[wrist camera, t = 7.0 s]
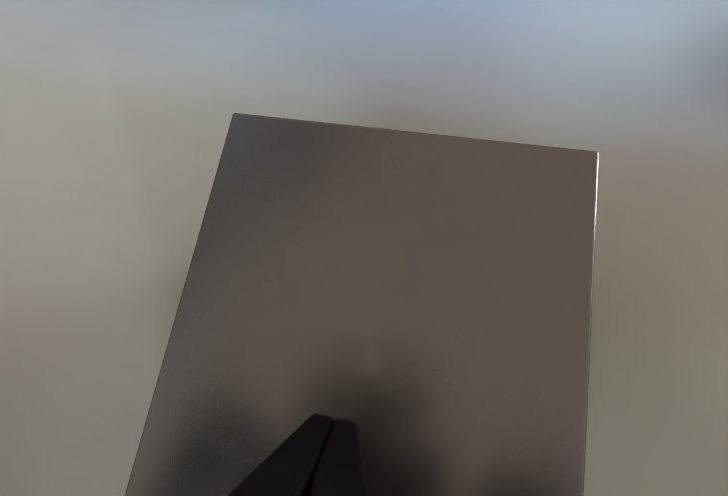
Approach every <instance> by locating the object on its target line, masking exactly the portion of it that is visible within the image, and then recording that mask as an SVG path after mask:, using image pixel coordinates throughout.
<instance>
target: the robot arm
mask: <svg viewBox="0 0 728 496" xmlns="http://www.w3.org/2000/svg"><path fill="white" fill-rule="evenodd" d="M227 496H368V491H367V485H366V478H365V471H364V465H363V458H362V452H361V445H360V438H359V432H358V425H357V423H356V422H355V421H352V420H348V419H343V418H336V419H334V418H333V417H332V416H328V415H323V414H318V413H315V414H312V415H311V416H310V417H309V418H308V419H307V420H306V421H305V422H304V423H302V424H301V425H300V426H299V427H298V428H297V429H296V430H295V431H294V432H293V433H292V434H291V435H290V436H289V437H288V438H287V439H286V440H285V441H284V442H283V443H281V444H280V445H279V446H278V447H277V448H276V449H275V450H274V451H273V452H272V453H271V454H270V455H269V456H268V457H267V458H266V459H265V460H264V461H263V462H261V463H260V464H259V465H258V466H257V467H256V468H255V469H254V470H253V471H252V472H251V473H250V474H249V475H248V476H247V477H246V478H245V479H244V480H243V481H242V482H240V483H239V484H238V485H237V486H236V487H235V488H234V489H233V490H232V491H231V492H230V493H229V494H228V495H227Z"/></svg>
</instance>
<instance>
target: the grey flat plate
mask: <svg viewBox="0 0 728 496" xmlns="http://www.w3.org/2000/svg"><path fill="white" fill-rule="evenodd" d="M598 164H599V153H598V152H595V151H586V150H576V149H567V148H557V147H548V146H539V145H529V144H520V143H511V142H501V141H492V140H482V139H473V138H464V137H454V136H445V135H436V134H426V133H417V132H407V131H398V130H389V129H379V128H370V127H360V126H351V125H342V124H332V123H323V122H314V121H304V120H295V119H285V118H276V117H267V116H257V115H248V114H238V113H234V114H233V116H232V120H231V123H230V127H229V130H228V134H227V137H226V141H225V144H224V148H223V151H222V155H221V158H220V162H219V165H218V169H217V172H216V176H215V180H214V183H213V187H212V190H211V194H210V197H209V201H208V204H207V208H206V211H205V215H204V218H203V222H202V225H201V229H200V232H199V236H198V240H197V243H196V247H195V250H194V254H193V257H192V261H191V264H190V268H189V271H188V275H187V278H186V282H185V285H184V289H183V292H182V296H181V300H180V303H179V307H178V310H177V314H176V317H175V321H174V324H173V328H172V331H171V335H170V338H169V342H168V345H167V349H166V352H165V356H164V360H163V363H162V367H161V370H160V374H159V377H158V381H157V384H156V388H155V391H154V395H153V398H152V402H151V405H150V409H149V412H148V416H147V419H146V423H145V427H144V430H143V434H142V437H141V441H140V444H139V448H138V451H137V455H136V458H135V462H134V465H133V469H132V472H131V476H130V479H129V483H128V487H127V490H126V494H125V496H227V495H228V494H229V493H230V492H231V491H232V490H233V489H234V488H235V487H236V486H237V485H238V484H239V483H240V482H242V481H243V480H244V479H245V478H246V477H247V476H248V475H249V474H250V473H251V472H252V471H253V470H254V469H255V468H256V467H257V466H258V465H259V464H260V463H261V462H263V461H264V460H265V459H266V458H267V457H268V456H269V455H270V454H271V453H272V452H273V451H274V450H275V449H276V448H277V447H278V446H279V445H280V444H281V443H283V442H284V441H285V440H286V439H287V438H288V437H289V436H290V435H291V434H292V433H293V432H294V431H295V430H296V429H297V428H298V427H299V426H300V425H301V424H302V423H304V422H305V421H306V420H307V419H308V418H309V417H310V416H311V415H312V414H315V413H318V414H323V415H328V416H332V417H333V418H334V419H336V418H343V419H348V420H352V421H355V422H356V423H357V425H358V432H359V438H360V445H361V452H362V458H363V465H364V471H365V478H366V485H367V491H368V496H583V492H584V470H585V448H586V426H587V404H588V382H589V361H590V339H591V317H592V295H593V273H594V251H595V229H596V208H597V186H598Z"/></svg>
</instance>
